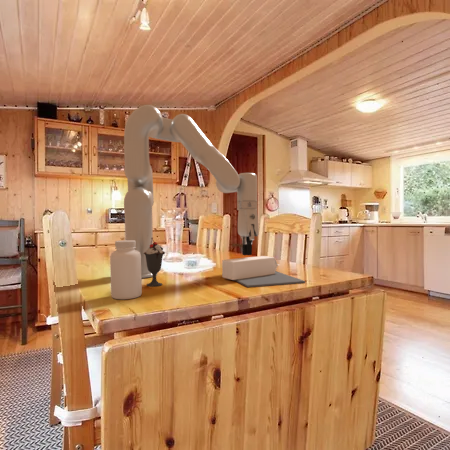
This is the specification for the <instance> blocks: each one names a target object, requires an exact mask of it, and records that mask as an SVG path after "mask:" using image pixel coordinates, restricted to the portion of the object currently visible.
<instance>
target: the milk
mask: <svg viewBox="0 0 450 450" xmlns="http://www.w3.org/2000/svg"><path fill="white" fill-rule="evenodd" d="M221 265H222V266H221V267H222V271H221V272H222V276H221V277H222V278H224V279H227V280H232V281H234V280H237V279H243V278H250V277H257V276H264V275H271V274H275V272H276V271H277V268H278V266H280V264H278V262H277V259H276V258H275V257H274V256H272V257H271V256H267V255H260V256H250V257H249V256H248V257H240V258H239V257H237V258H230V259H222V263H221Z"/></svg>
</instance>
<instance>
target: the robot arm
mask: <svg viewBox="0 0 450 450" xmlns="http://www.w3.org/2000/svg"><path fill="white" fill-rule="evenodd" d="M150 138H152V139H156V140H162V141H168V142H174V143H181V145H182V146H183V147H184V148H185V150H186V151H187V152H188V154H189V155H190V156H191V157H192V159H194V161H195V162H197V163H199V164H200V165H202V166H203V167H204V168H206V169H207V170H208V171H209V173H210V174H211V175H212V176H213V177H214V178H215V180H216V182H215V187H216V188H217V190H218V191H219V192H220V193H223V194H230V193H236V194H237V195H236V210H237V211H238V214H237V234H238V235H239V236H240V239H241V244H242V255H243V256H252V255H253V241H255V237H258V236H259V234H260V233H259V230H260V229H259V217H258V216H259V215H258V176H257V174H256V173H254V172H240V173H239V174H238V171H237V170H236V169H235V168H234V166H233V165H232V164H231V163H230V161H229V160H228V159H227V158H226V157H225V155H224V154H223V153H222V152H221V151H219V150H218V149H217V148H216V147H215V145H213V143H212V142H211V141H210V140H209V139H208V137H207V136H206V134H205V133H204V132H203V131H202V130H201V128H200V127H199V126H198V125H197V123H196V122H195V120H193V118H192V117H191V116H190V115H188V114H186V113H179V114H176V115H175V116H174V117H173V119H172V118H167V117H163V115H162V112H161V111H160V110H159V109H158V108H157V107H156V106H154V105H152V104H144V105H142V106H139V107H137V108H136V109H134V110H133V111H132V112H131V113H130V115H129V116H128V118H127V120H126V123H125V126H124V135H123V140H124V141H123V144H124V149H123V153H124V154H123V155H124V175H125V177H126V178H127V192H126V194H125V196H124V200H123V210H124V236H125V237H124V238H125V239H124V240H135V241H136V246H135V247H136V248H135V250H137V251H139V252H140V254H141V279H145V278H146V279H147V278H151V277H152V278H153V275H152V273H150V272H149V271H148V268H147V262H146V256H145V254H144V252H147V250H148V248H149V247H150V245H151V240H152V239H151V238H152V237H153V231H154V230H153V206H154V202H155V201H154V199H155V196H154V177H153V176H154V175H153V169H152V165H151V162H150V146H149V145H150V144H149V143H150V142H149V141H150V140H149V139H150ZM153 238H154V237H153ZM153 243H154V239H153V240H152V244H153ZM156 276H158V273H157V274H156Z"/></svg>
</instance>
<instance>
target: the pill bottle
mask: <svg viewBox="0 0 450 450" xmlns="http://www.w3.org/2000/svg"><path fill="white" fill-rule="evenodd" d="M135 246H136V241H135V240H125V239H123V240H115V241H114V247H115V251H113V252H112V253H110V257H109V260H110V261H109V263H110V266H109V267H110V269H109V270H110V295H111V298H112V299H115V300H129V299H131V300H132V299H136V298H139V297H141V295H142V293H143V292H142V291H143V287H142V284H143V283H142V279H143V278H141V254H140V252H139V251H137V250H135V248H136V247H135Z"/></svg>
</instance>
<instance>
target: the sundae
mask: <svg viewBox="0 0 450 450" xmlns="http://www.w3.org/2000/svg"><path fill="white" fill-rule="evenodd" d="M151 239H152V240H153V244H152V240H151V245H150V247H149V248H148V250H147V252H144V254H145V256H146V262H147V268H148V271H149V272H150V273H152V275H153V277H152V280H151V282H148V283H146V286H147V287H151V288H152V287H155V288H157V287H160V286H163V283H161V282H158V280H157V275H158V273H159V272H160V271H161V268H162V263H163V257H164V255H165V253H166V252H165V251H164V247H162V246H161V245H159V244H158V242H155V241H154V237H152V238H151ZM156 274H157V275H156Z"/></svg>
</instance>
